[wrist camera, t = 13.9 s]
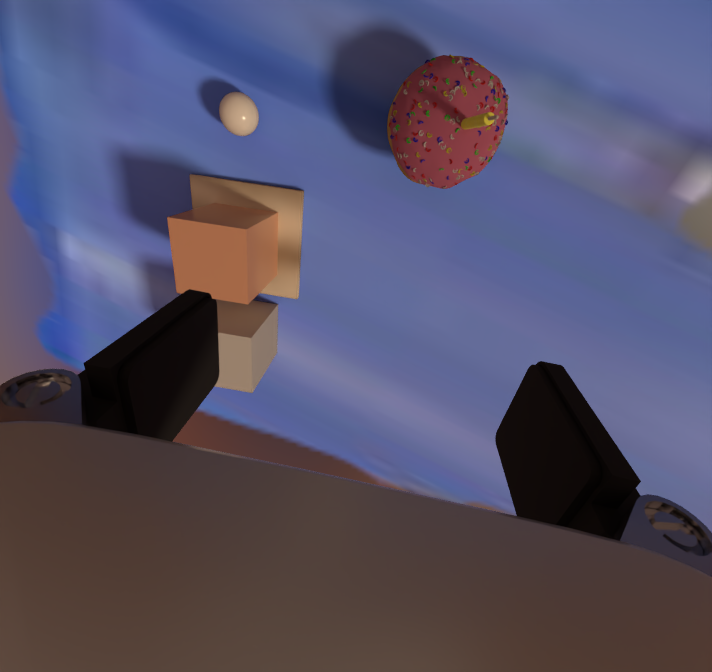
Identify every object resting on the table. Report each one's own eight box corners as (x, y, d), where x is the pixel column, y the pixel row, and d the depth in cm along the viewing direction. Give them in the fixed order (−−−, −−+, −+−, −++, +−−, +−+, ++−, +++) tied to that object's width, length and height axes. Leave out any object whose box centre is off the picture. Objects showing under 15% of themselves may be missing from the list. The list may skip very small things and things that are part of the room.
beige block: (222, 295, 40) (184, 326, 33) (278, 304, 40) (251, 338, 33) (225, 343, 44) (191, 382, 37) (277, 352, 43) (252, 392, 36)
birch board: (192, 174, 35) (189, 174, 34) (303, 190, 34) (302, 191, 34) (202, 281, 40) (199, 283, 39) (298, 297, 39) (297, 299, 39)
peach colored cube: (214, 202, 35) (167, 217, 28) (278, 212, 35) (246, 229, 28) (218, 265, 38) (176, 292, 31) (277, 275, 38) (248, 304, 31)
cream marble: (228, 91, 31) (210, 86, 28) (264, 96, 31) (250, 92, 28) (229, 133, 33) (213, 132, 30) (264, 138, 32) (250, 138, 30)
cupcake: (496, 60, 28) (551, 8, 17) (489, 178, 32) (530, 194, 21) (386, 76, 29) (375, 37, 19) (392, 187, 33) (386, 207, 23)
